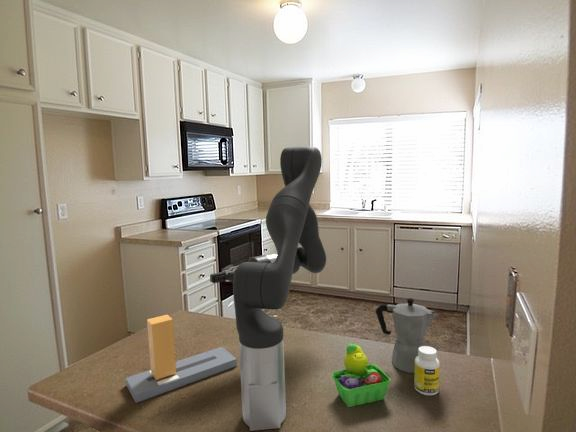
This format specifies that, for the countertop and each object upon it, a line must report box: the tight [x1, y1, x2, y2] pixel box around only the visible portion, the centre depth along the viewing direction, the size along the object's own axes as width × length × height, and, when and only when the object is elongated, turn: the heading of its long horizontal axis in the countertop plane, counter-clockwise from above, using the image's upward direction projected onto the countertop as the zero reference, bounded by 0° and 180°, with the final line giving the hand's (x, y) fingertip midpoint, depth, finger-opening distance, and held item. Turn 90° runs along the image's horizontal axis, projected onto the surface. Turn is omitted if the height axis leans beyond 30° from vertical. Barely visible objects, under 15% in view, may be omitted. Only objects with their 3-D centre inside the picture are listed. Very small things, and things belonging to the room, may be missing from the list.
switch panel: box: [125, 346, 238, 404], centre depth 96 cm, size 26×9×2 cm, turn 126°
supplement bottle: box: [413, 345, 441, 396], centre depth 87 cm, size 5×5×10 cm
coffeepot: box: [375, 297, 439, 374], centre depth 98 cm, size 15×9×18 cm, turn 67°
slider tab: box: [146, 314, 177, 380], centre depth 93 cm, size 5×4×14 cm
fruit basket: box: [331, 342, 391, 408], centre depth 85 cm, size 11×9×11 cm
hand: (211, 279), depth 99 cm, fingers closed
